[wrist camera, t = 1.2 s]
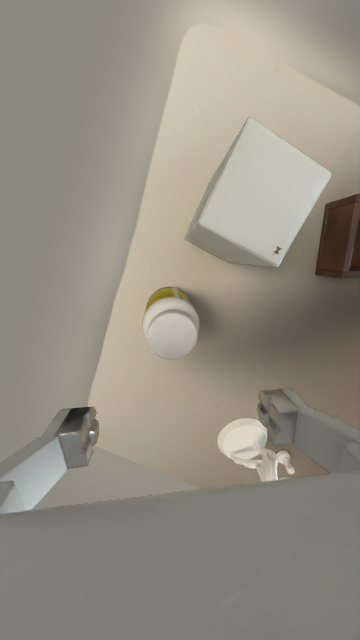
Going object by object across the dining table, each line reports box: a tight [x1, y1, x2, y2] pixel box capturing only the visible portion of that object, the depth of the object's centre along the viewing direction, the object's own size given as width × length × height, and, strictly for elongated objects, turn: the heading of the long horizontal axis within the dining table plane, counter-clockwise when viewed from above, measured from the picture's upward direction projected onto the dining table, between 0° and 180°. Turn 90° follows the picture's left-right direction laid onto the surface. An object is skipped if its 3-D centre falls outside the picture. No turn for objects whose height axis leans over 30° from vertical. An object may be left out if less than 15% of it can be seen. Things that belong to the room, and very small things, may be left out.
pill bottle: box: [142, 287, 200, 359], centre depth 24 cm, size 6×6×11 cm
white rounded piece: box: [276, 450, 295, 474], centre depth 38 cm, size 3×3×4 cm
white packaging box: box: [185, 117, 331, 267], centre depth 20 cm, size 7×7×13 cm
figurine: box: [217, 418, 291, 482], centre depth 29 cm, size 10×10×18 cm
